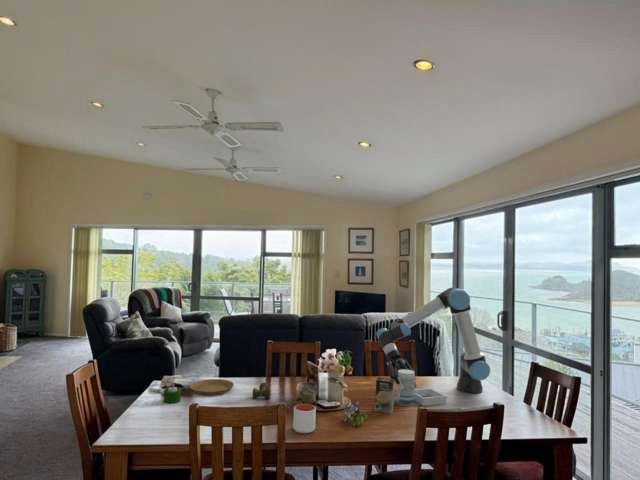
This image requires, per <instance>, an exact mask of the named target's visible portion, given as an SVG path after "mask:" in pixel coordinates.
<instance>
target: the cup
mask: <svg viewBox="0 0 640 480" xmlns="http://www.w3.org/2000/svg"><path fill="white" fill-rule="evenodd" d="M316 410H317V407H316V406H315V405H313V404H309V403H300V404H295V406H294V407H293V423H292V425H293V426H292V428H293V430H294V431H295V432H297V433H299V434H308V433H309V434H310V433H312V432H314V431H315V429H316V415H317V414H316V413H317V411H316Z"/></svg>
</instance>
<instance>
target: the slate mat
mask: <svg viewBox="0 0 640 480" xmlns="http://www.w3.org/2000/svg"><path fill="white" fill-rule="evenodd" d="M395 403H396V404H397V405H398V406H400V407H412V406H421V404H419V403H418V402H416V401H414V400H401V399H399V398H398V397H396V398H395V397H394V404H395Z"/></svg>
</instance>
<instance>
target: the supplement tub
mask: <svg viewBox="0 0 640 480" xmlns="http://www.w3.org/2000/svg"><path fill="white" fill-rule="evenodd" d="M414 371H415V370H414ZM414 371H412V370H405V369H397V378H398V377H399V378H400V380H401V382H402V384H403V387H404V389H403V390H400V388H399V386H398V384H396V398H399V399H401V400H413V399H414V389H416V388H415V379H416V377H415V376H416V374H414Z"/></svg>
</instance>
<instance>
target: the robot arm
mask: <svg viewBox="0 0 640 480" xmlns="http://www.w3.org/2000/svg"><path fill="white" fill-rule="evenodd" d="M447 309H449V310H450V313H451V315H453V316H454V319H455V323H456V326H457V328H458V332H459V336H460V340H461V343H462V348H463V350H464V351H461V352H460V357H459V359H460V360H459V363H460V364H459V366H460V367H459V377H458V380H457V383H456V389H457V390H459V391H460V392H464V393H467V394H468V393H469V394H479V393H482V392H483V390H484V389H483V388H484V387H483V386H482V381H483V380H484V381H485V380H486V379H487V378H488V377H489V376H490V374H491V367H490V365H489V363H487V361H486V357H485V354H484V353H483V352H481V350H480V346H479V342H478V339H477V336H476V332H475V328H474V324H473V322H472V318H471V314H470V311H471V309H472V308H471V297H470V295H469V293H468V292H467V291H466V290H464V289H463V288H458V287H449V288H447V289H446V290H443V291H442V292H440V293H439V294H437V295H436V296H435V297H434V298H433V299H432V300H430V301H429V302H427V303H425V304H424V305H421V306H420V307H418V308H417V309H415V310H414V311H411V312H410V313H409V314H406V315H404V316H403V317H401V318H399V319H398V320H394V321H392V322H391V324H390V329H387V328H386V327H383V328H382V327H381V328H379V329H378V330H377V331H376V337H377V339H378V342H379V344H380V346H381V348H382V350H383V351H384V354H385V356H386V358H387V360H388V361H387V362H386V367H387V370H388V374H389V377H390V378H389V379H395V385H397V384H398V386H399V388H400V390H403V389H404V387H403V384H402V382H401V380H400V378H399V377H398V378H397V373H398V368H399V369H400V370H402V369H405V370H412V371H414V374H415V375H416V374H417V373H416V371H415V369H414V368H413V367H412V366H411V365H410V363H409V362H408V360H407V359H406V358H405V359H402V357H401V356H402V355H401V353H400V352H399V350H398V347H397V346H396V344H395V342H396V341H398V340H401V339H402V338H404V337H407V336H409V335H410V334H411V333H412V331H411V329H410V328H412V327H414V326H415V325H417V324H419V323H421V322H423V321H424V320H425V319H427V318H430V317H431V316H433V315H434V314H436V313H438V312H440V311H441V310H447ZM418 387H419V384H418V383H417V379H416V378H415V389H418Z"/></svg>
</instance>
